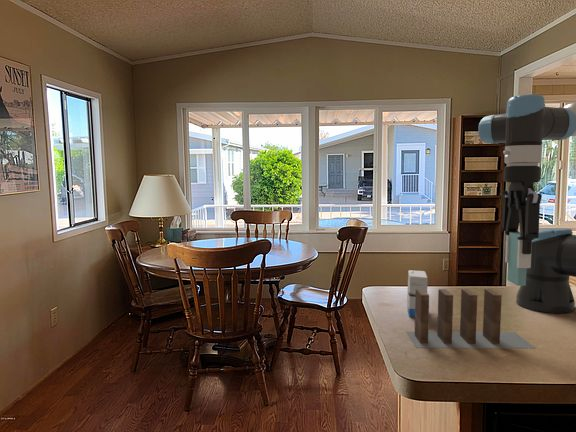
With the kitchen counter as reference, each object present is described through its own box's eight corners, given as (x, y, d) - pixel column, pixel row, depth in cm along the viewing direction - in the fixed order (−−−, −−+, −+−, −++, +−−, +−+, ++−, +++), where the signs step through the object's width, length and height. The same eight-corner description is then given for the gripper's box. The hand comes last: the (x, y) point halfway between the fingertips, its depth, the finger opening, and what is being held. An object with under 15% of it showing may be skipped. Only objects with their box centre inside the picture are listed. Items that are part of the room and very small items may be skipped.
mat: (514, 333, 110) (515, 331, 110) (535, 349, 100) (536, 348, 100) (405, 333, 111) (405, 331, 111) (415, 349, 101) (415, 347, 101)
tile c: (467, 335, 108) (469, 289, 107) (475, 343, 103) (477, 295, 102) (459, 335, 108) (461, 289, 107) (467, 343, 103) (469, 295, 102)
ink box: (427, 319, 121) (428, 277, 120) (408, 318, 122) (409, 276, 121) (424, 309, 130) (425, 270, 128) (406, 308, 131) (407, 269, 129)
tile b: (490, 335, 108) (492, 289, 107) (499, 343, 103) (501, 295, 102) (482, 335, 108) (484, 289, 107) (491, 343, 103) (493, 295, 102)
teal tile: (514, 280, 107) (517, 232, 105) (525, 285, 101) (528, 235, 100) (507, 279, 107) (509, 232, 105) (517, 285, 101) (520, 235, 100)
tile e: (422, 335, 109) (423, 289, 108) (427, 343, 104) (429, 295, 102) (414, 335, 109) (415, 289, 108) (420, 343, 104) (421, 295, 102)
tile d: (444, 335, 109) (446, 289, 107) (451, 343, 103) (453, 295, 102) (437, 335, 109) (438, 289, 107) (443, 343, 103) (445, 295, 102)
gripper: (489, 165, 110) (485, 257, 113) (525, 164, 92) (520, 274, 95) (519, 165, 110) (515, 257, 113) (562, 164, 92) (555, 274, 94)
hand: (517, 264), depth 104 cm, fingers closed on teal tile, 5 cm apart
